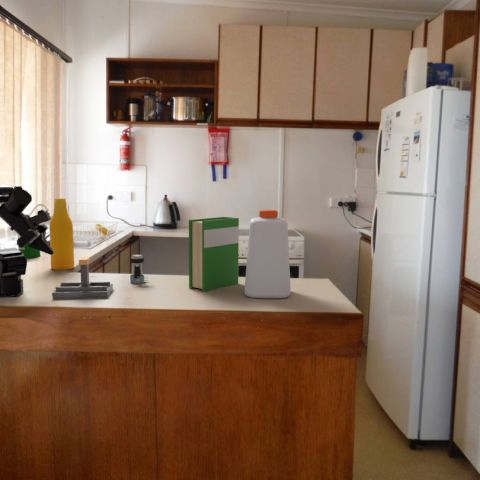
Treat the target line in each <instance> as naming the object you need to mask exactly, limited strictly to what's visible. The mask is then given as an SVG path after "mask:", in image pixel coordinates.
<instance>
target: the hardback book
mask: <svg viewBox="0 0 480 480" xmlns="http://www.w3.org/2000/svg"><path fill="white" fill-rule="evenodd" d="M239 219H240V218H239V217H232V216H231V217H229V216H220V217H219V216H216V217H207V218H195V219H194V218H193V219H188V289H189V290H190V289H191V290H193V289H197V288H198V289H201V291H202V292H203V293H205V292H209V291H213V290H217V289H221V288H225V287H230V286H235V285H238V284H239V246H240V245H239V237H240V235H239V233H240V229H239V228H240V227H239V225H240V220H239Z"/></svg>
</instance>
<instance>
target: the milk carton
mask: <svg viewBox="0 0 480 480" xmlns="http://www.w3.org/2000/svg"><path fill="white" fill-rule="evenodd" d="M23 214H24V215H27V214H25V213H23ZM20 237H21V236H20V235H19V234H18V233H17V240H18V239H19V238H20ZM29 244H30V242H28V243H27V244H26V245H25V247H23V248H22V249H21V248H20V247H19V246H18V245H17V247H18V248H17V249H18V250H19V251H21V252H22V254H23V255H24V256H25V258H26V259H33V258H38V257H41V251H39V250H36V249H33V248H30V247H27V246H28V245H29Z"/></svg>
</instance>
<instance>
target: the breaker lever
mask: <svg viewBox="0 0 480 480" xmlns="http://www.w3.org/2000/svg"><path fill="white" fill-rule="evenodd" d="M90 259H91V258H90V257H81V258H79V259H78V265H79V266H80V268H79V269H80V282H81V284H80V285H79V286H91V283H89V282H90V269H89V268H90V266H89V264H90V262H91V261H90Z"/></svg>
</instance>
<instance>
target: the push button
mask: <svg viewBox="0 0 480 480" xmlns="http://www.w3.org/2000/svg"><path fill="white" fill-rule="evenodd" d="M144 260H145V257H143V254H132V255H131V257H129V261H130V264H131V272H132V273H131V275H130V279H129V280H130V283H131V284H139V283H141V282H143V283H145V281H148V279H149V277H145V275H144V273H143V263H144V262H145V261H144ZM141 284H142V283H141Z"/></svg>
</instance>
